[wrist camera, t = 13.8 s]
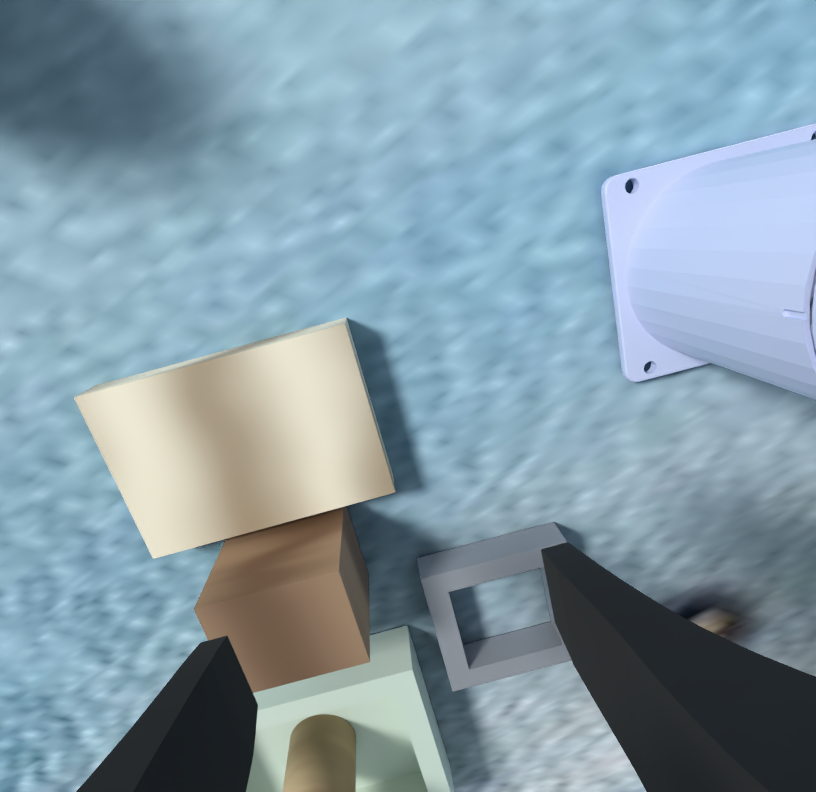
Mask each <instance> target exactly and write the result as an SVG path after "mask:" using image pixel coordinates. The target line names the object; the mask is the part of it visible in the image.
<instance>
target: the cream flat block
mask: <svg viewBox="0 0 816 792" xmlns="http://www.w3.org/2000/svg"><path fill="white" fill-rule="evenodd" d="M74 399H75V401H76V403H77V405H78V407H79V409H80V411H81V413H82V415H83V417H84V419H85V421H86V423H87V425H88V427H89V429H90V431H91V433H92V435H93V437H94V439H95V441H96V443H97V446H98V448H99V450H100V452H101V454H102V456H103V458H104V460H105V462H106V464H107V466H108V468H109V470H110V472H111V474H112V476H113V478H114V480H115V482H116V484H117V486H118V488H119V490H120V492H121V494H122V496H123V498H124V500H125V502H126V504H127V506H128V509H129V511H130V513H131V515H132V517H133V519H134V521H135V523H136V525H137V527H138V529H139V531H140V533H141V535H142V537H143V539H144V541H145V543H146V545H147V547H148V549H149V551H150V553H151V555H152V557H153V559H154V558H158V557H161V556H165V555H169V554H172V553H176V552H180V551H183V550H187V549H191V548H194V547H198V546H202V545H205V544H209V543H213V542H216V541H220V540H224V539H227V538H231V537H235V536H238V535H242V534H246V533H249V532H253V531H257V530H260V529H264V528H268V527H271V526H275V525H278V524H282V523H286V522H289V521H293V520H297V519H300V518H304V517H308V516H311V515H315V514H319V513H322V512H326V511H330V510H333V509H337V508H341V507H344V506H348V505H352V504H355V503H359V502H363V501H366V500H370V499H374V498H377V497H381V496H385V495H388V494H392V493H395V486H394V478H393V473H392V470H391V467H390V463H389V460H388V456H387V453H386V450H385V446H384V443H383V440H382V436H381V433H380V429H379V426H378V423H377V419H376V416H375V413H374V409H373V406H372V402H371V399H370V396H369V392H368V389H367V386H366V382H365V379H364V375H363V372H362V369H361V365H360V362H359V359H358V355H357V352H356V348H355V345H354V342H353V338H352V335H351V332H350V328H349V325H348V321H347V318H343V319H339V320H335V321H332V322H328V323H324V324H321V325H317V326H313V327H310V328H306V329H302V330H298V331H295V332H291V333H287V334H284V335H280V336H276V337H273V338H269V339H265V340H262V341H258V342H254V343H251V344H247V345H243V346H240V347H236V348H232V349H229V350H225V351H221V352H218V353H214V354H210V355H207V356H203V357H199V358H195V359H192V360H188V361H184V362H181V363H177V364H173V365H170V366H166V367H162V368H159V369H155V370H151V371H148V372H144V373H140V374H137V375H133V376H129V377H126V378H122V379H118V380H115V381H111V382H107V383H104V384H100V385H96V386H94V387H92V388H90V389H89V390H87V391H85V392H83V393H81V394H79V395H78V396H76V397H74Z"/></svg>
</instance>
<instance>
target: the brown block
mask: <svg viewBox="0 0 816 792" xmlns="http://www.w3.org/2000/svg"><path fill="white" fill-rule="evenodd" d="M194 611H195V613H196V615H197V617H198V619H199V621H200V624H201V626H202V628H203V630H204V632H205V634H206V636H207V639H208V641H209V640H212V639H216V638H220V637H223V636H228V638H229V640H230V642H231V645H232V647H233V649H234V652H235V654H236V656H237V658H238V661H239V663H240V665H241V667H242V670H243V672H244V674H245V676H246V679H247V681H248V683H249V685H250V688H251V690H252V692H253V693H255V692H259V691H263V690H266V689H270V688H274V687H278V686H282V685H285V684H289V683H293V682H297V681H300V680H304V679H308V678H312V677H316V676H319V675H323V674H327V673H331V672H335V671H338V670H342V669H346V668H350V667H353V666H357V665H361V664H365V663H369V662H370V625H369V574H368V571H367V567H366V564H365V561H364V558H363V555H362V552H361V549H360V546H359V543H358V540H357V536H356V533H355V530H354V527H353V524H352V521H351V518H350V515H349V512H348V508H347V506H344V507H341V508H337V509H333V510H330V511H326V512H322V513H319V514H315V515H311V516H308V517H304V518H300V519H297V520H293V521H289V522H286V523H282V524H278V525H275V526H271V527H268V528H264V529H260V530H257V531H253V532H249V533H246V534H242V535H238V536H235V537H231V538H227V539H226V541H225V543H224V545H223V547H222V549H221V551H220V554H219V556H218V558H217V560H216V562H215V564H214V567H213V569H212V571H211V573H210V575H209V577H208V580H207V582H206V584H205V586H204V588H203V590H202V593H201V595H200V597H199V599H198V601H197V603H196V606H195V608H194Z"/></svg>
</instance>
